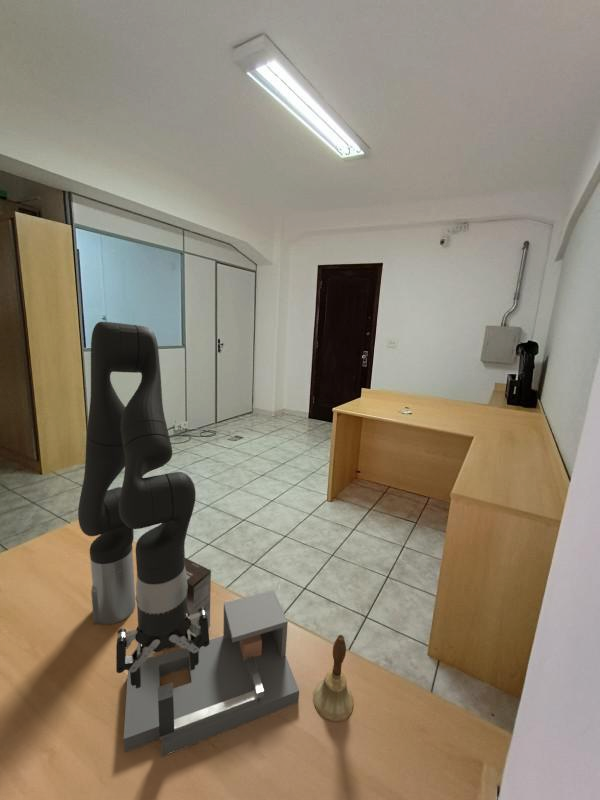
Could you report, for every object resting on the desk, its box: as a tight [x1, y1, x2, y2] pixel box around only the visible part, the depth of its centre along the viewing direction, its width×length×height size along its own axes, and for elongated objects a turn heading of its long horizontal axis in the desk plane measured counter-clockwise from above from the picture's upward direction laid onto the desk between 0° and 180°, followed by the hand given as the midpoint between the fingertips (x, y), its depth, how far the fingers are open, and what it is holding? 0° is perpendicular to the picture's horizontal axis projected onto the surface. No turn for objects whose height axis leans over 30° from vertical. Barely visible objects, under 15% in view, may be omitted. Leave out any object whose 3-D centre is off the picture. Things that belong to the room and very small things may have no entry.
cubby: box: [123, 589, 300, 757], centre depth 72 cm, size 32×18×12 cm, turn 113°
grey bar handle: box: [158, 656, 264, 741], centre depth 67 cm, size 19×8×9 cm, turn 113°
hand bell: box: [313, 634, 355, 723], centre depth 70 cm, size 8×8×16 cm
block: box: [240, 634, 262, 660], centre depth 78 cm, size 4×4×4 cm
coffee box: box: [185, 557, 212, 636], centre depth 85 cm, size 9×6×16 cm
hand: (165, 674), depth 59 cm, fingers open, 8 cm apart
